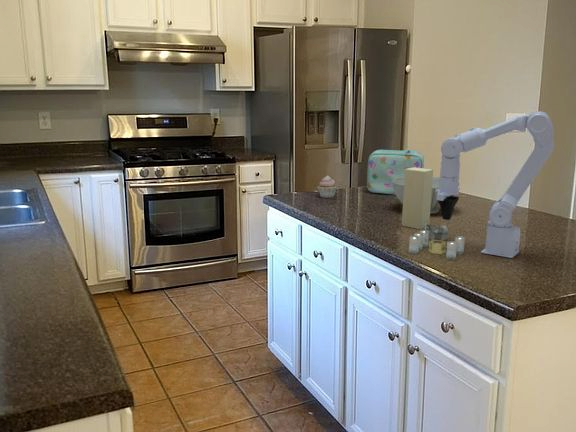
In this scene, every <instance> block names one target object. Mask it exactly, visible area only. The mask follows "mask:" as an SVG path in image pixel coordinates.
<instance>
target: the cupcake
mask: <svg viewBox="0 0 576 432" xmlns="http://www.w3.org/2000/svg"><path fill="white" fill-rule="evenodd" d="M318 184H319V185H318V186H316V188H317V189H318V192H319V197H320V198H321V199H334V198H335V195H336V191H337V190H338V188H339V186H336V182H335V180H334V179H332V178H331V176H329V175H326V176H324V177H323V178H322V179H321V181H320V182H319V183H318Z"/></svg>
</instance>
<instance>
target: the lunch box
mask: <svg viewBox="0 0 576 432" xmlns="http://www.w3.org/2000/svg"><path fill="white" fill-rule="evenodd" d="M367 160H368V161H367V176H366V177H367V178H366V186H367V190H368V191H369V192H370V193H372V194H383V195H393V196H396V194H395V192H394V190H393V187H392V180H393V179H395V178H399V177H405V169H408V168H413V167H416V168H424V169H426V168H425V166H424V165H425V158H424V155H423V153H421V152H420V151H418V150H412V149H411V148H409V149H406V150H405V149H404V150H395V149H377V150H374V151H373V152H372V153H371V154H370V155H369V157H368V159H367Z"/></svg>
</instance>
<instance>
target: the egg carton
mask: <svg viewBox="0 0 576 432" xmlns="http://www.w3.org/2000/svg"><path fill="white" fill-rule="evenodd" d="M424 224H425V222H424ZM423 230H428V231H429V235H428V240H429V241H432V240H442V241H445V240H447V241H448V236H449V235H448V234H449V233H448V232H449V229H448V228H447V225H438V226H436V225H433V227H432V226H431V225H430V223H429V224H425V226H424V228H423Z"/></svg>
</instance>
